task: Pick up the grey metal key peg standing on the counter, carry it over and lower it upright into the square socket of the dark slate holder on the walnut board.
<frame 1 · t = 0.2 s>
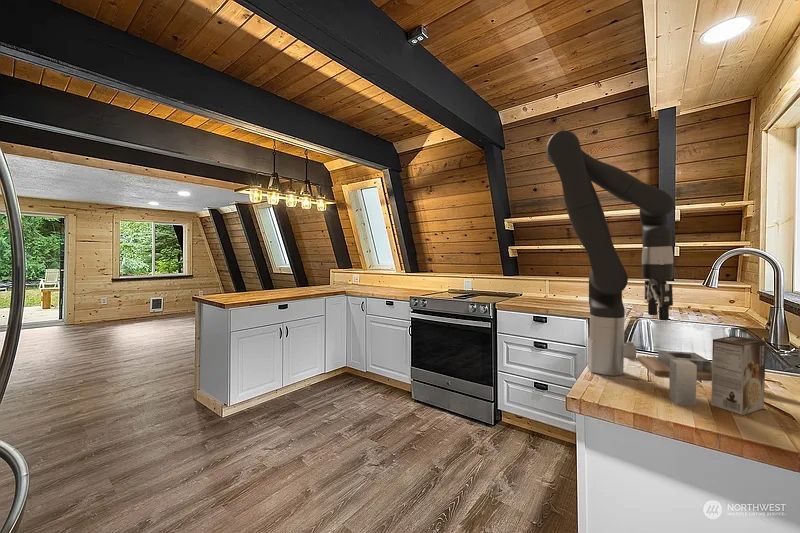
hand: (658, 317, 107), 17 cm above the counter, tool pointing down, fingers open, 8 cm apart
dock: (682, 370, 114), on the counter
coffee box: (737, 407, 87), on the counter
grey rectangular block: (623, 356, 129), on the counter
key peg: (682, 402, 89), on the counter
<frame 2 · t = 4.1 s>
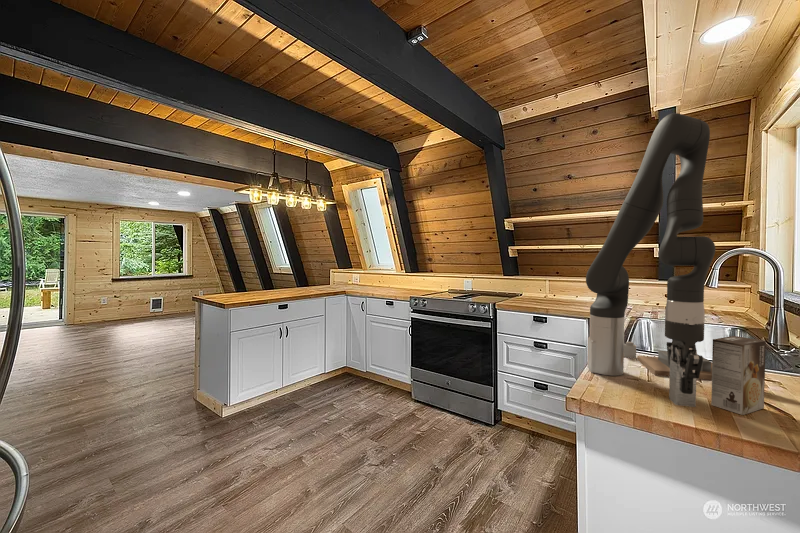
hand: (682, 389, 89), 3 cm above the counter, tool pointing down, fingers closed on key peg, 4 cm apart
key peg: (681, 402, 89), on the counter, touching gripper
everything else where it was.
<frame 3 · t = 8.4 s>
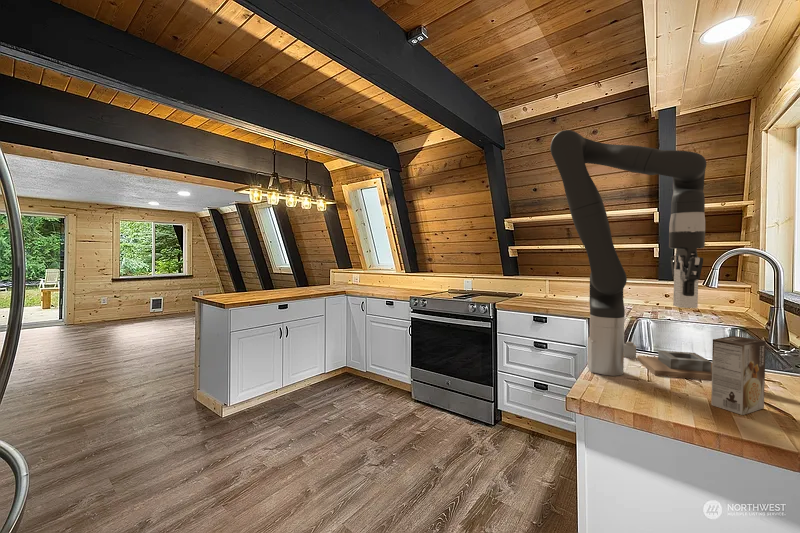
hand: (684, 294, 98), 25 cm above the counter, tool pointing down, fingers closed on key peg, 4 cm apart
key peg: (685, 306, 98), point 22 cm above the counter, touching gripper
everything else where it was.
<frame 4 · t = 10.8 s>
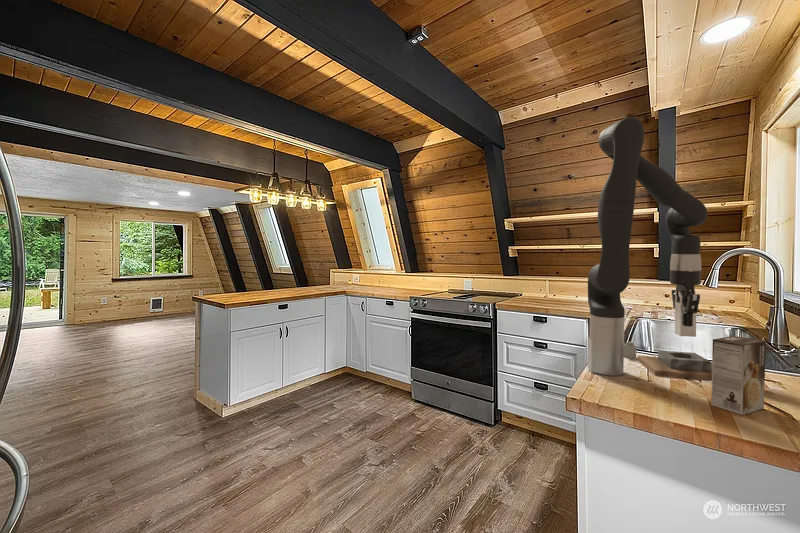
hand: (684, 324, 113), 14 cm above the counter, tool pointing down, fingers closed on key peg, 4 cm apart
key peg: (685, 335, 113), point 11 cm above the counter, touching gripper
everything else where it was.
when the fingers open (6 cm above the counter, at t = 13.0 s): key peg stays where it is, resting on dock.
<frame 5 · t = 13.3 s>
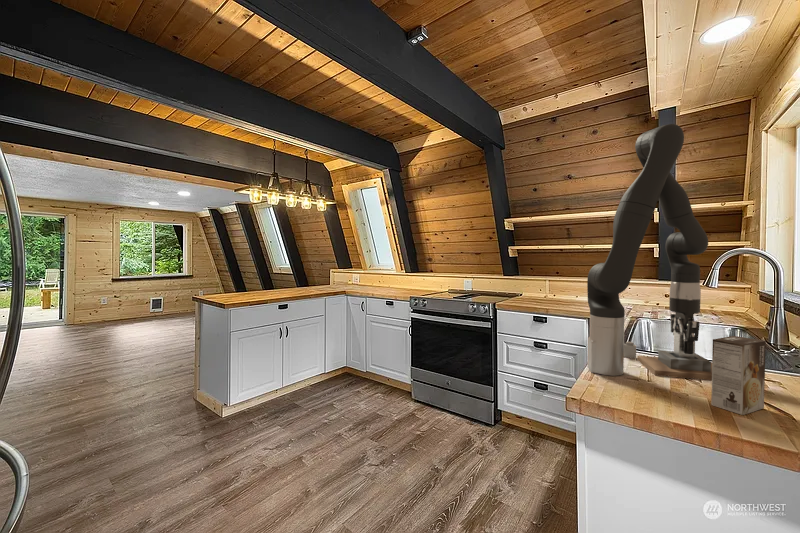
hand: (683, 350, 113), 6 cm above the counter, tool pointing down, fingers open, 6 cm apart
key peg: (683, 365, 113), point 1 cm above the counter, touching dock
everything else where it was.
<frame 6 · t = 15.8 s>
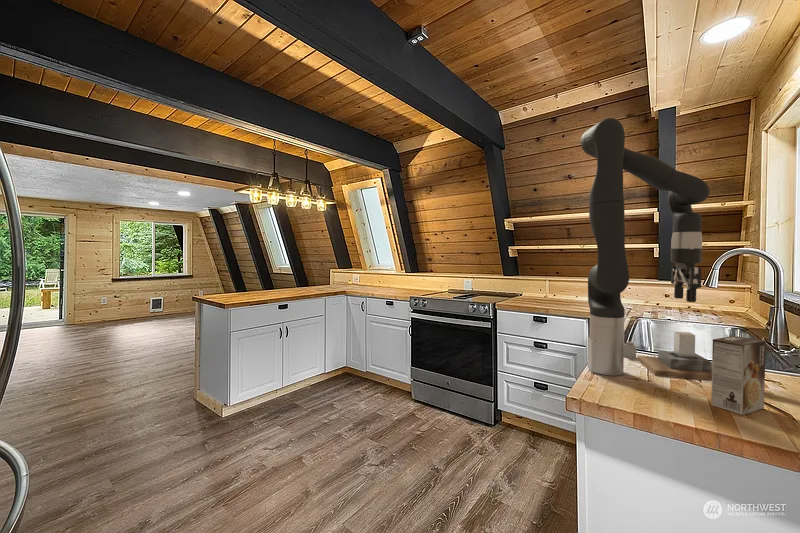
hand: (684, 300, 113), 22 cm above the counter, tool pointing down, fingers open, 8 cm apart
nothing on the counter moved.
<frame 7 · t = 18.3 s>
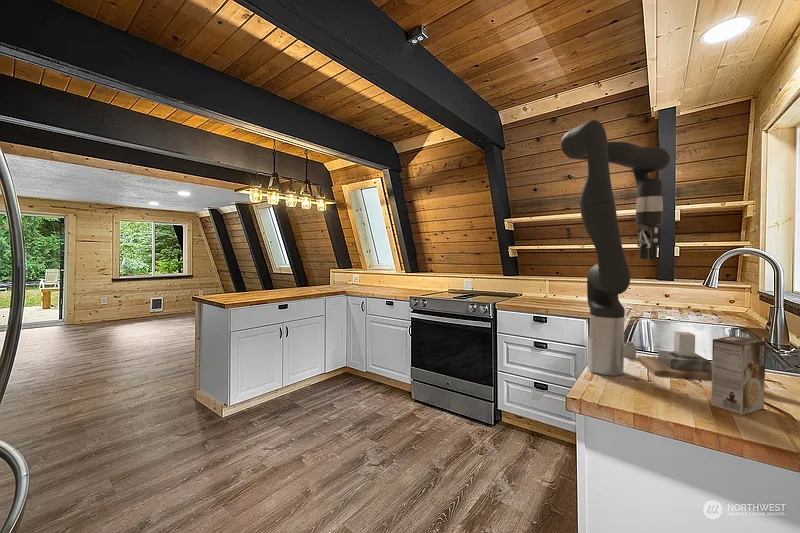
hand: (647, 259, 124), 34 cm above the counter, tool pointing down, fingers open, 8 cm apart
nothing on the counter moved.
at the end: key peg 0.2 cm off-centre on the dock, point 1.5 cm above the dock's base; key peg tilted 0°; the gripper is holding nothing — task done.
